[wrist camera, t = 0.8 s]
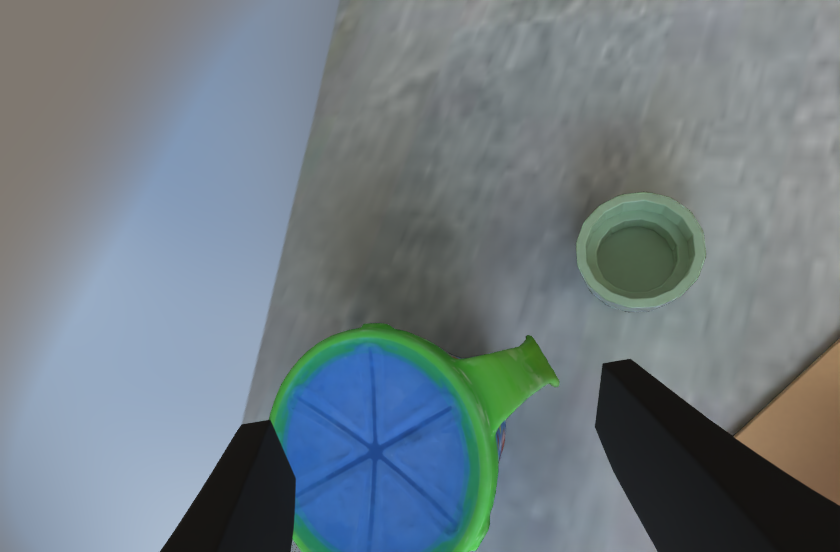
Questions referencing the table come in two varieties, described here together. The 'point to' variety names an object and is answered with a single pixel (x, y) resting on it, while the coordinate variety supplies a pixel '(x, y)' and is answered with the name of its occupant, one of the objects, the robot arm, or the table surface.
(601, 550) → the table surface
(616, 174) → the table surface
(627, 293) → the bowl
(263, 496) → the robot arm
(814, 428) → the mat
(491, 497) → the snack cup
